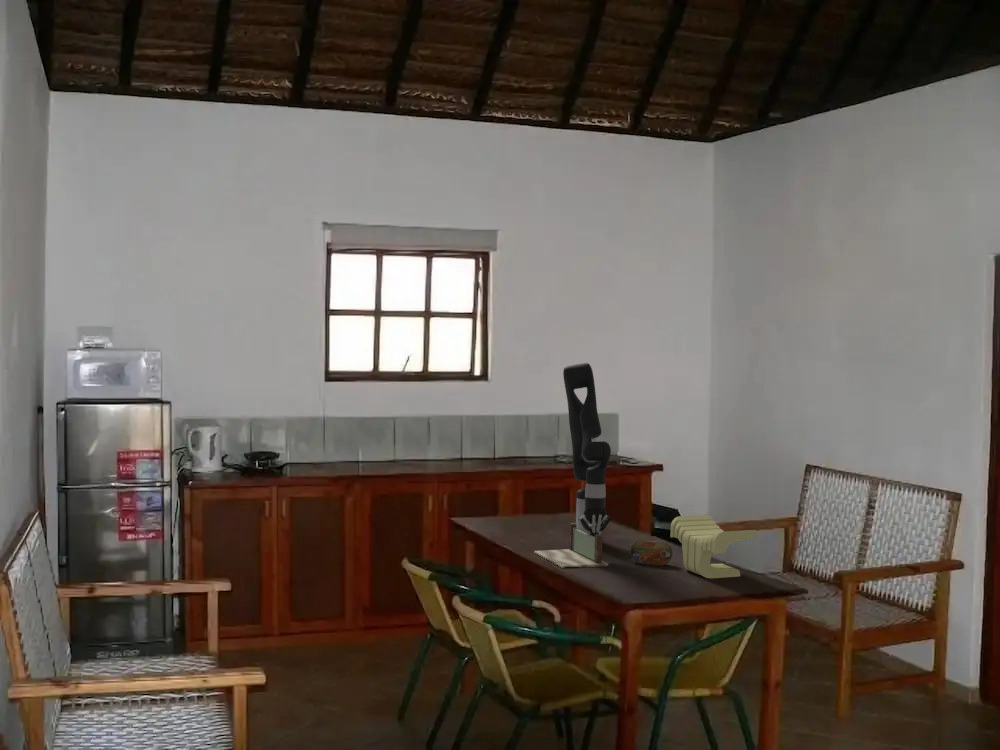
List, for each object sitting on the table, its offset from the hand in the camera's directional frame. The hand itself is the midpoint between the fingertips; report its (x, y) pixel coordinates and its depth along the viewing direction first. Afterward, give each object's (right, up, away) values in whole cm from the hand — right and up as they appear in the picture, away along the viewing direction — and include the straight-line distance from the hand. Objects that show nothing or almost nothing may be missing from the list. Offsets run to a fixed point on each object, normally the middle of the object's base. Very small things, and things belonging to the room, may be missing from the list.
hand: (594, 542), depth 403 cm
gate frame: (-9, -6, -2) cm, 11 cm away
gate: (-3, -5, +1) cm, 6 cm away
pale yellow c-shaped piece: (+39, -8, -20) cm, 45 cm away
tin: (+20, -7, -6) cm, 22 cm away
